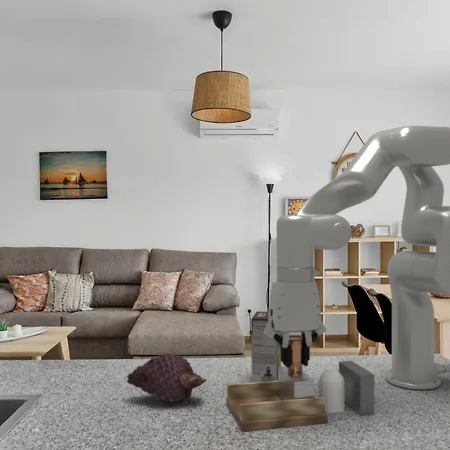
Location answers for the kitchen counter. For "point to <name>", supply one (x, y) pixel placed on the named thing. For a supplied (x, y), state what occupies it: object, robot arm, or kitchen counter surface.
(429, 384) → the robot arm
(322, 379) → the capsule
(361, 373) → the gray rectangular block
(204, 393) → the kitchen counter surface
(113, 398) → the kitchen counter surface
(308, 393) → the ram
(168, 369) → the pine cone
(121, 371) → the kitchen counter surface
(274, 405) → the base
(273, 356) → the coffee box
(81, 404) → the kitchen counter surface
